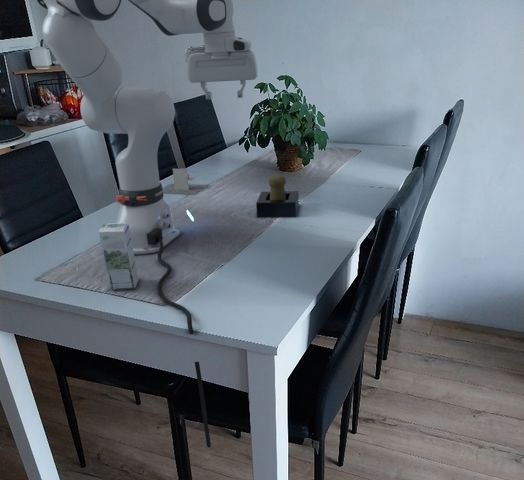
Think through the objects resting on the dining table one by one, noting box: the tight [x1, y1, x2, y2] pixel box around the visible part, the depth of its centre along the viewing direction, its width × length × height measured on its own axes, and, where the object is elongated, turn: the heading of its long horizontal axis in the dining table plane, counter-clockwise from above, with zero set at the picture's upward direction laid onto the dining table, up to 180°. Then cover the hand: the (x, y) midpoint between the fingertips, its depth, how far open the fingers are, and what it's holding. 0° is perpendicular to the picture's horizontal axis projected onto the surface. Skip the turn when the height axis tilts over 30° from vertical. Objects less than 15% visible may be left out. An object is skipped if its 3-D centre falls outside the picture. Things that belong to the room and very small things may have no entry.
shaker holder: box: [255, 190, 300, 218], centre depth 170 cm, size 12×12×4 cm
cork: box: [268, 174, 287, 200], centre depth 168 cm, size 6×6×11 cm
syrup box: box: [98, 222, 139, 291], centre depth 125 cm, size 6×6×14 cm
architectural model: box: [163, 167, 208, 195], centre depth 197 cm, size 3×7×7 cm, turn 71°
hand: (224, 98), depth 159 cm, fingers open, 8 cm apart
